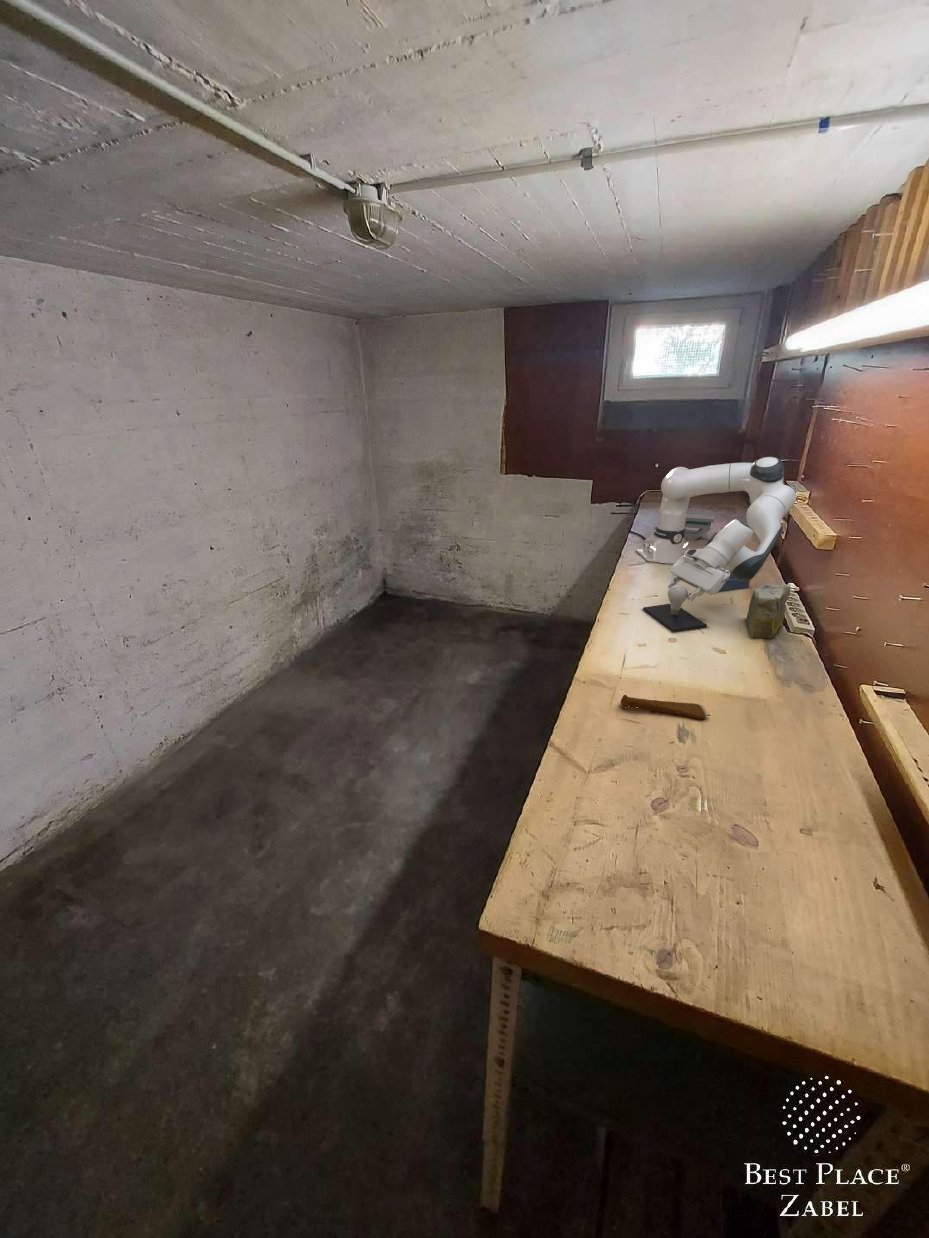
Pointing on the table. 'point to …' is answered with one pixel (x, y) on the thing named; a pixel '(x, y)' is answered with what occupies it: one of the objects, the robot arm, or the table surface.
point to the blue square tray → (734, 584)
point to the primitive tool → (664, 706)
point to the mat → (674, 618)
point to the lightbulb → (677, 598)
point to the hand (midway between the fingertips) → (679, 593)
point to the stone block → (767, 610)
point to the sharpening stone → (697, 525)
